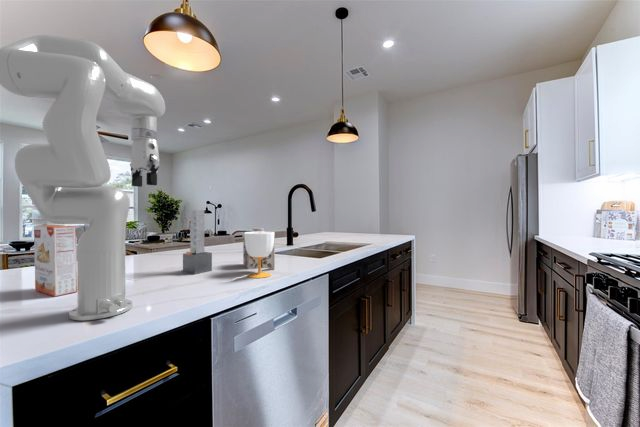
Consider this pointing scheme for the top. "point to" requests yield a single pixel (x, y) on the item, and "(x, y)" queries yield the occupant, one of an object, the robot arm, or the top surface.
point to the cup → (259, 248)
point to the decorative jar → (252, 262)
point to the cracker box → (55, 259)
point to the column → (197, 232)
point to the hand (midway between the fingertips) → (144, 185)
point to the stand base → (197, 263)
